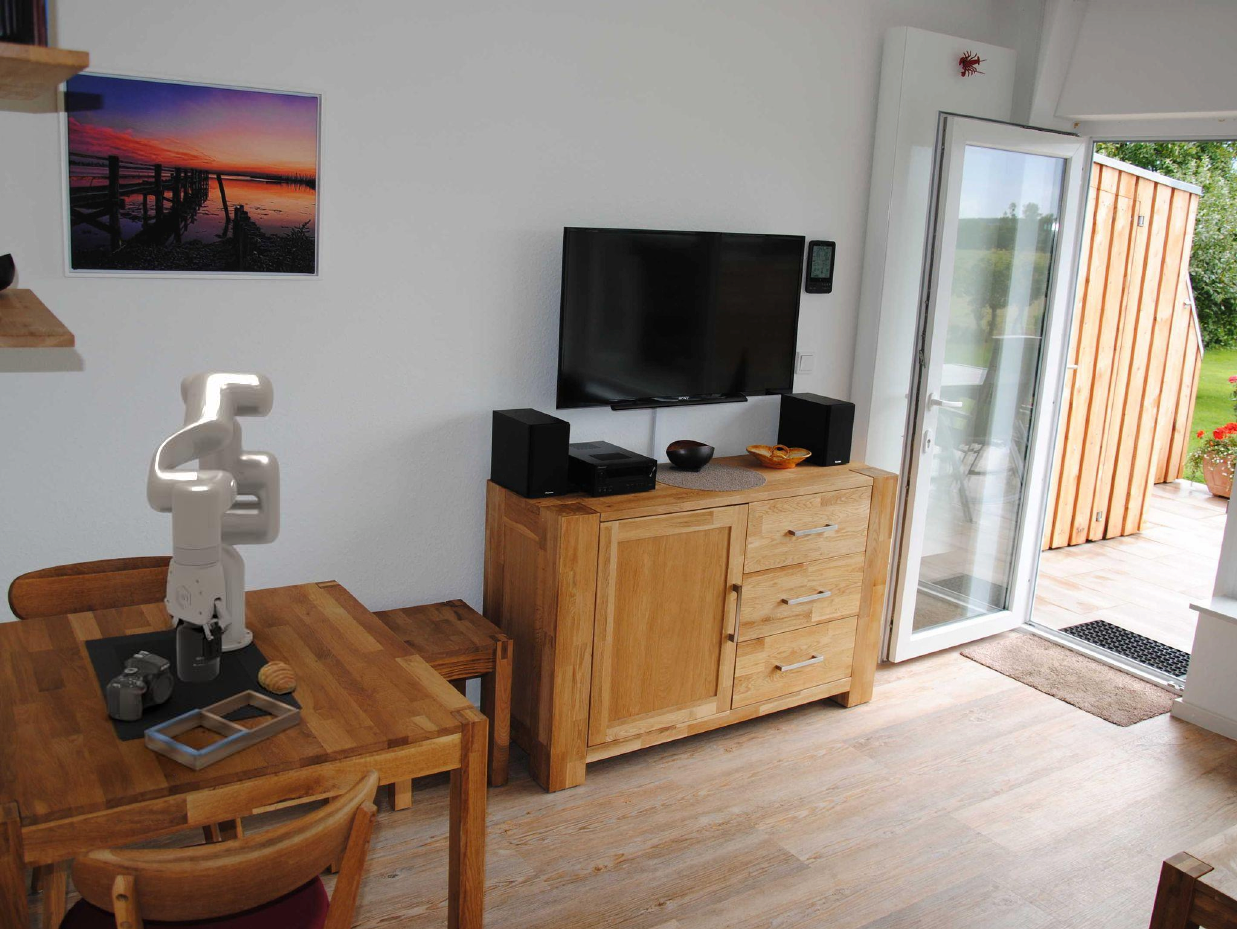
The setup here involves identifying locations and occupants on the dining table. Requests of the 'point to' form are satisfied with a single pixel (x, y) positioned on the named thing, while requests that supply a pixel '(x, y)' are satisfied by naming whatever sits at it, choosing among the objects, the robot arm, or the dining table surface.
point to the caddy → (219, 729)
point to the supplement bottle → (194, 654)
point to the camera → (139, 686)
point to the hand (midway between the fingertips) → (198, 652)
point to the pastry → (277, 677)
